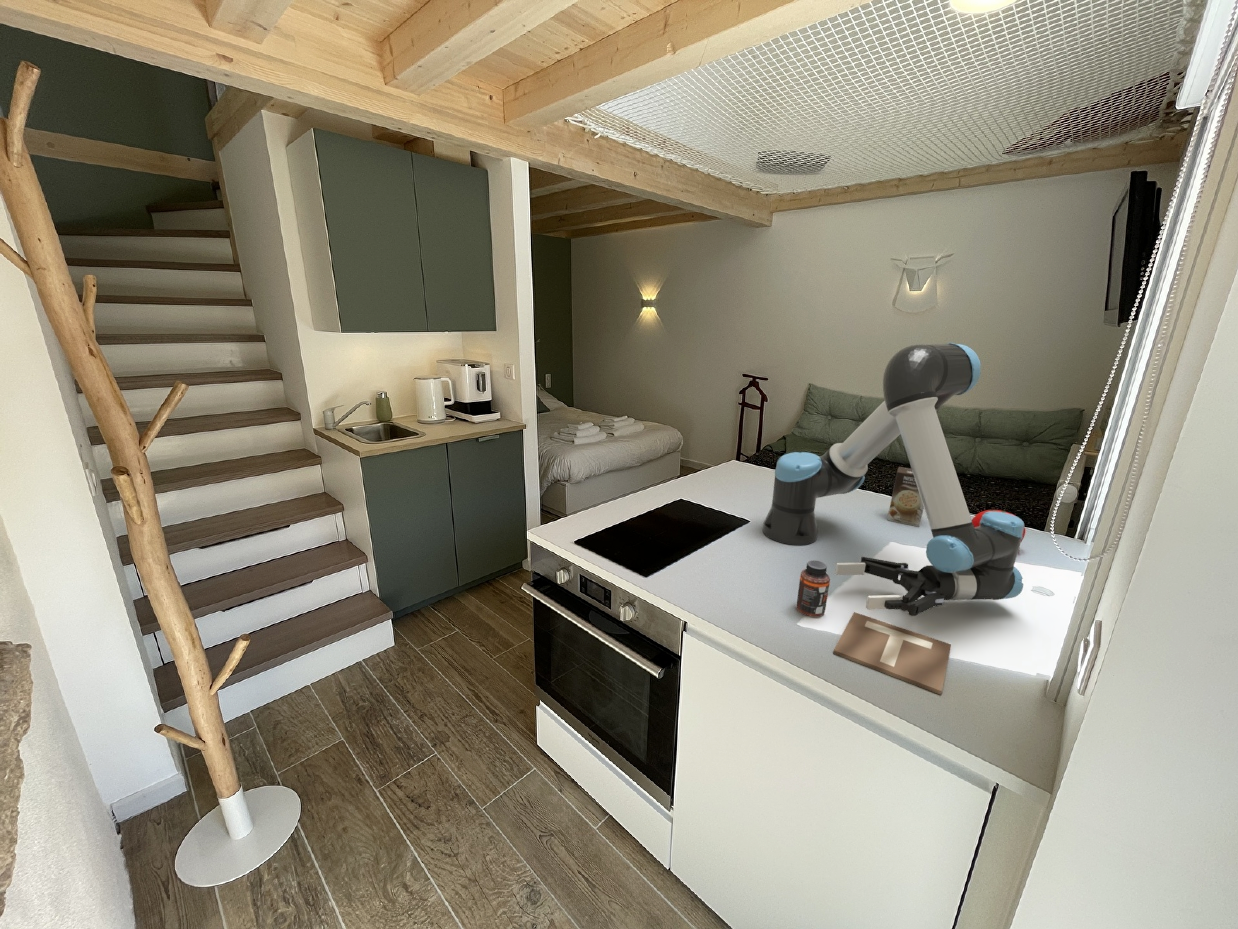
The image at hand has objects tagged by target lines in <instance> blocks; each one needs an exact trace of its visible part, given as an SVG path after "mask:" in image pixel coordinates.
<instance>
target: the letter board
mask: <svg viewBox="0 0 1238 929" xmlns="http://www.w3.org/2000/svg"><path fill="white" fill-rule="evenodd" d="M951 648H952V644H951V643H948V642H945V641H942V640H939V639H937V638H933V637H930V636H927V635H924V634H921V633H920V632H919V633H918V632H915V631H912V630H910V629H907V628H903V627H900V626H897V625H895V624H892V623H888V622H885V621H882V620H880V619H877V618H873V617H871V616H867V615H864V614H861V613H858V612H855V611H853V613H852V615H851V617H850V619H849V621H848V622H847V624H846V626H845V628H844V630H843V631H842V634H841V635H840V637H839V639H838V641H837V643H836V645H835V647H834V648H833V650H832V654H834V655H836V656H838V657H842V658H844V659H846V660H849V661H851V662H854V663H857V664H860V665H862V666H864V667H867V668H870V669H872V670H875V671H878V672H880V673H883V674H886V675H887V676H891V677H892V678H896V679H899V680H902V682H903V681H904V682H906V683H907V684H908V683H909V684H911V685H914V686H916V687H919V688H922V689H924V690H927V691H930V692H932V693H934V694H938V695H940V696H941V695H942V693H943V690H944V689H943V688H944V685H945V684H944V683H945V677H946V673H947V669H948V668H947V667H948V664H949V657H950V653H951Z"/></svg>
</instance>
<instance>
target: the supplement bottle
mask: <svg viewBox="0 0 1238 929" xmlns="http://www.w3.org/2000/svg"><path fill="white" fill-rule="evenodd" d="M827 568H828V566H827V564H826V563H824V562H822V561H820V560H815V559H814V560H809V561H807V562H806V568H804V569H803V570H802V571H801V572H800V576H799V583H798V592H797V598H796V610H798V612H800V613H801V614H802V615H803V616H804V615H805V616H807V617H810V618H820V617H821V616H824V614H825V612H826V607H827V601H828V595H829V591H830V590H829V589H830V588H829V587H830V583H831V581H830V580H831V579H830V576H829V573H828V572H827Z"/></svg>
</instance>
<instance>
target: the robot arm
mask: <svg viewBox="0 0 1238 929" xmlns="http://www.w3.org/2000/svg"><path fill="white" fill-rule="evenodd" d="M981 367H982V365H981V361H980V358H979V356H978V354H977V353H976V351H974V350H973V349H972V348H970V347H969V346H967V345H965V344H962V343H961V344H958V343H954V342H947V343H936V344H934V343H933V344H924V343H923V344H914V345H908V346H906V347H904V348H901V349H900V350H899V351H897V352H896V353H895V354H894V355H892V357H891V358H890V360H889V361H888V363H887V364H886V366H885V369H884V372H883V377H882V378H883V379H882V393H883V400H884V401H882V402H881V404H879V406H877V407H876V408H875V410H873V412H872V413H871V414H870V415H869V416H868V417H867V418H866V419H864V421H862V423H861V424H860V425H859V426H858V427H857V428H856V429H855V430H854V431H853V432H852V433H851V434H850V435H849V436H848V437H847V438H846V439H845V440H844V441H843V442H837V443H833V445H831V446H830V448H829V449H828V450H826V452H824V454H823V455H820V456H819V455H818V454H815V453H812V452H805V451H802V452H799V451H798V452H797V451H794V452H790V453H786V454H783V455H782V456H780V457H779V458H778V460H777V462H776V467H775V470H774V480H773V481H774V482H773V493H772V499H771V500H772V501H771V507H770V509H769V511H768V513H767V514H766V517H765V519H764V522H763V525H762V526H763V527H762V533H763V534H764V535H765V536H766V537H768V538H769V539H771V540H773V541H776V542H778V543H782V544H785V545H786V544H787V545H796V546H803V545H805V546H806V545H810V544H813V543H815V542H816V541H817V540H818V534H819V527H818V525H817V524H818V523H817V519H816V514H815V510H816V508H815V507H816V502H817V499H818V498H825V497H829V496H834V495H835V496H836V495H842V494H843V495H845V494H847V493H851V492H853V491H856V490H857V489H858V488H860V487H861V486H863V485H862V484H863V483H864V482H865V479H866V477H865V475H866V473H867V472H868V464H870V463H871V462H872V461H873V459H875V458H876V457H878V455H879V454H880V453H881V452H883V450H885V449H886V448H887V447H888V446H889V445H890V444H892V442H893V441H894V440H896V439H897V438H898V437H899V436H901V439H902V442H903V446H904V449H905V452H906V455H907V458H908V461H909V464H910V469H912V471H913V474H914V478H915V481H916V484H917V487H918V490H919V493H920V497H921V500H922V503H923V506H924V509H923V510H924V513H925V516H926V519H927V521H928V525H929V528H930V531H931V535H932V538H931V539H930V540H929V541H928V542H927V544H926V550H925V554H926V558H927V560H928V562H929V563H930V564H931V565H924V566H923V567H922V568H921V569H919V570H912V569H909V564H908V563H906V562H894V561H890V560H884V559H883V560H882V559H879V558H871V557H867V556H861V558H860V562H836V565H835V572H834V574H835V575H836V576H860V575H862V576H863V575H865V574H868V575H871V576H875V577H879V578H882V579H886V580H889V581H892V583H894V584H895V585H899V586H901V587H903V588H904V589H905V591H907V593H905V594H902V596H901V595H899V594H890V595H889V594H887V595H882V594H881V595H868V596H867V599H866V605H865V609H867V610H901V611H902V612H908V616H911V617H916V616H917V615H919V614H922V613H924V612H926V611H928V610H931V609H932V608H934V607H942V606H943V605H944V601H959V600H961V601H962V600H963V601H964V600H966V601H969V600H971V601H975V600H976V601H977V600H978V601H979V600H994V601H999V600H1004V599H1005V600H1006V599H1013V598H1016V597H1018V596H1019V595H1021V593H1022V591H1023V588H1024V583H1023V576H1022V574H1021V572H1020V570H1019V569H1018V568H1017V567H1015V564H1016V563H1015V562H1016V559H1017V556H1018V553H1019V549H1020V546H1021V543H1022V542H1021V540H1022V539H1023V540H1024V538H1023V537H1022V535H1023V530H1024V527H1025V523H1024V522H1025V521H1023V520H1022V518H1020V517H1019V516H1017V517H1016V515H1015V514H1013V515H1011V514H1012V513H1011V514H1008V513H1009V512H1008V513H1004V512H997V511H989V512H986V513H984V514H983V515H982V518H981V520H980V522H979V523H980V524H979V526H978V527H974V525H973V523H972V518H971V513H970V511H969V508H968V506H967V502H966V499H965V497H964V493H963V490H962V487H961V484H960V480H959V478H958V475H957V471H956V468H955V466H954V462H953V459H952V457H951V453H950V451H949V447H948V445H947V441H946V437H945V435H944V432H943V429H942V425H941V422H940V420H939V417H938V413H937V410H939V409H940V408H941V407H942V406H943V405H944V404H946V402H948V401H949V400H950V399H951V398H952V397H954V396H962V395H963V394H965V393H968V392H969V391H971V390H973V388H974V387H975V386H977V384H978V382H979V381H980V377H981ZM1014 515H1015V516H1014ZM1018 517H1019V518H1018ZM1023 540H1022V541H1023ZM899 576H900V577H899ZM922 596H923V597H922ZM901 597H902V598H901Z"/></svg>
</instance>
